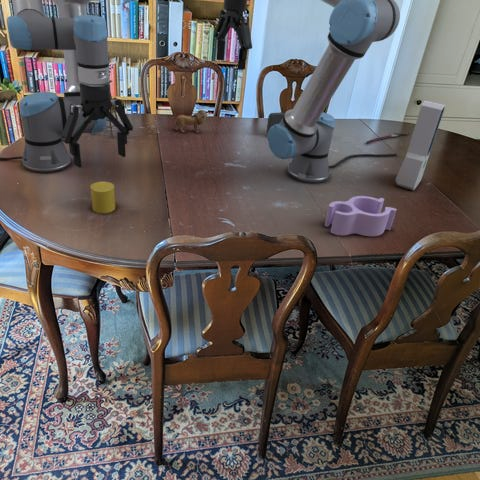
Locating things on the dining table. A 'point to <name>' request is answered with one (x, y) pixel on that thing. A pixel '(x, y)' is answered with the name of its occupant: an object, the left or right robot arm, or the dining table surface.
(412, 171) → the electronic device
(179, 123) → the lion figurine
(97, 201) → the tin
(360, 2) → the right robot arm
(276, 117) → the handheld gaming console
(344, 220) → the clip
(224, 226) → the dining table surface
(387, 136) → the sword
